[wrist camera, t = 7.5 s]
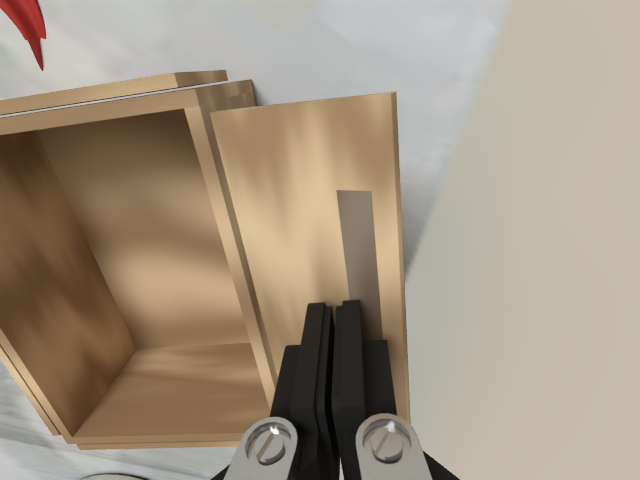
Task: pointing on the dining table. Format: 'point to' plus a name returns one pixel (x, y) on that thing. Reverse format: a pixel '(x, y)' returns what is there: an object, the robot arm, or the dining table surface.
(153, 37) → the dining table surface
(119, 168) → the wooden box
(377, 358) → the robot arm
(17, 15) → the cayenne pepper
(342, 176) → the flap
